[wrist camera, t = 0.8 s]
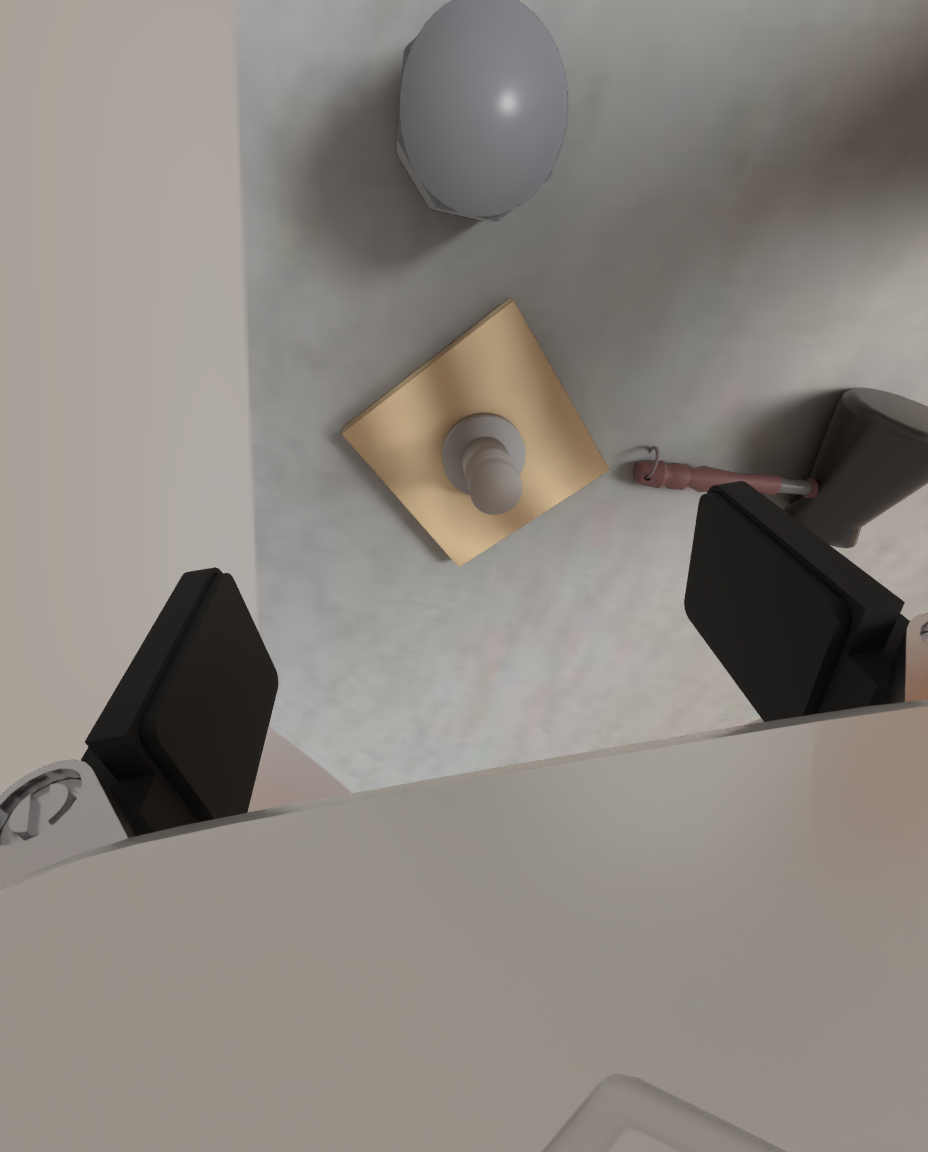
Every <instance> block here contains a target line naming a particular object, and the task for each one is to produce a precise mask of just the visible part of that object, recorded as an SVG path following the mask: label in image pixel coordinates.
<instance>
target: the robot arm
mask: <svg viewBox="0 0 928 1152" xmlns="http://www.w3.org/2000/svg"><path fill="white" fill-rule="evenodd" d="M904 603H905V602H904V601H902V600H901V599H900V598H898V597H897V596H896V595H894V594H893V593H892V592H891V591H889V590H888V589H887V588H885V587H884V586H883V585H881V584H880V583H879V582H877V581H876V580H875V579H873V578H872V577H871V576H869V575H868V574H867V573H865V572H864V571H863V570H861V569H860V568H859V567H858V566H856V565H855V564H854V563H852V562H851V561H850V560H848V559H847V558H846V557H844V556H843V555H842V554H840V553H839V552H838V551H836V550H835V549H834V548H832V547H831V546H830V545H828V544H827V543H826V542H824V541H823V540H822V539H821V538H819V537H818V536H817V535H815V534H814V533H813V532H811V531H810V530H809V529H807V528H806V527H805V526H803V525H802V524H801V523H799V522H798V521H797V520H795V519H794V518H793V517H791V516H790V515H789V514H788V513H786V512H785V511H784V510H782V509H781V508H780V507H778V506H777V505H776V504H774V503H773V502H772V501H770V500H769V499H768V498H766V497H765V496H764V495H762V494H761V493H760V492H758V491H757V490H756V489H754V488H753V487H752V486H751V485H749V484H748V483H746V482H744V481H737V482H731V483H725V484H719V485H713V486H712V487H710V488H709V490H708V492H707V494H704V495H702V496H701V498H700V500H699V505H698V512H697V519H696V526H695V532H694V539H693V546H692V553H691V559H690V566H689V573H688V580H687V586H686V593H685V600H684V605H685V611H686V614H687V616H688V618H689V620H690V621H691V622H692V624H693V625H694V626H695V628H696V629H697V631H698V632H699V633H700V635H701V636H702V637H703V639H704V640H705V641H706V643H707V644H708V646H709V647H710V648H711V650H712V651H713V652H714V654H715V655H716V656H717V658H718V659H719V661H720V662H721V663H722V665H723V666H724V667H725V669H726V670H727V672H728V673H729V674H730V676H731V677H732V678H733V680H734V681H735V682H736V684H737V685H738V687H739V688H740V689H741V691H742V692H743V693H744V695H745V696H746V697H747V699H748V700H749V702H750V703H751V704H752V706H753V707H754V708H755V710H756V711H757V713H758V714H759V715H760V717H761V718H762V719H763V721H764V722H762V723H756V724H750V725H744V726H738V727H732V728H726V729H720V730H714V731H708V732H702V733H697V734H691V735H685V736H679V737H673V738H667V739H661V740H655V741H649V742H643V743H637V744H631V745H625V746H619V747H614V748H608V749H602V750H596V751H590V752H585V753H579V754H573V755H567V756H562V757H556V758H550V759H544V760H538V761H533V762H527V763H521V764H515V765H510V766H504V767H498V768H493V769H487V770H481V771H475V772H470V773H464V774H458V775H453V776H447V777H441V778H435V779H430V780H424V781H419V782H413V783H408V784H402V785H396V786H391V787H385V788H380V789H374V790H369V791H363V792H357V793H352V794H346V795H341V796H335V797H330V798H324V799H318V800H313V801H308V802H302V803H296V804H290V805H285V806H280V807H275V808H270V809H265V810H260V811H255V812H249V813H247V812H248V807H249V803H250V799H251V795H252V791H253V787H254V783H255V779H256V775H257V771H258V767H259V762H260V758H261V754H262V750H263V746H264V742H265V738H266V734H267V730H268V726H269V722H270V718H271V714H272V710H273V706H274V701H275V697H276V693H277V689H278V676H277V672H276V669H275V667H274V665H273V662H272V660H271V658H270V656H269V654H268V652H267V650H266V647H265V645H264V643H263V641H262V639H261V637H260V634H259V632H258V630H257V628H256V626H255V624H254V622H253V619H252V618H251V615H250V613H249V611H248V609H247V607H246V605H245V602H244V600H243V598H242V596H241V594H240V591H239V589H238V587H237V585H236V583H235V581H234V579H233V577H232V576H231V575H230V574H229V573H224V574H223V573H222V572H221V571H220V570H219V569H218V568H216V567H215V568H209V569H203V570H198V571H191V572H187V573H184V574H183V576H182V577H181V579H180V580H179V582H178V584H177V586H176V587H175V589H174V591H173V592H172V594H171V596H170V598H169V599H168V601H167V603H166V604H165V606H164V608H163V610H162V611H161V613H160V615H159V616H158V618H157V620H156V621H155V623H154V625H153V626H152V628H151V630H150V632H149V633H148V635H147V637H146V638H145V640H144V642H143V643H142V645H141V647H140V649H139V650H138V652H137V654H136V655H135V657H134V659H133V661H132V662H131V664H130V666H129V667H128V669H127V671H126V673H125V674H124V676H123V678H122V679H121V681H120V683H119V685H118V686H117V688H116V689H115V691H114V693H113V695H112V696H111V698H110V700H109V701H108V703H107V705H106V706H105V708H104V710H103V712H102V713H101V715H100V717H99V719H98V720H97V722H96V724H95V725H94V727H93V729H92V731H91V732H90V734H89V735H88V737H87V739H86V741H85V743H86V744H87V745H88V749H87V751H86V752H85V754H84V756H83V757H82V759H81V761H79V760H75V759H74V760H64V761H58V762H55V763H52V764H49V765H46V766H43V767H41V768H39V769H37V770H35V771H33V772H31V773H29V774H27V775H25V776H24V777H23V778H21V779H20V780H18V781H17V782H16V783H14V784H13V785H12V786H10V787H9V788H7V790H5V791H4V792H3V793H2V794H1V795H0V1152H928V613H925V614H921V615H918V616H916V617H915V618H913V619H912V620H911V621H909V620H908V619H906V618H905V617H904V616H903V615H901V614H900V612H901V610H902V607H903V605H904Z"/></svg>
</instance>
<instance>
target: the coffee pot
mask: <svg viewBox="0 0 928 1152" xmlns="http://www.w3.org/2000/svg"><path fill="white" fill-rule="evenodd" d="M654 449H655V451H656V459H655V461H640V462H638V463H637V464H636V466H635V469H634V479H635V481H636V482H637V483H641V484H644V485H648V486H652V487H656V488H659V487H661V486H664V485H665V486H666V487H667V488H670V489H680V490H683V489H684V488H685V487H686V486H688V487H690V488H692V489H694V490H696V491H698V492H705V491H708V490H709V488H710V487H712V486H713V485H719V484H725V483H731V482H737V481H744V482H746V483H748V484H749V485H751V486H752V487H753V488H754V489H756V490H757V491H758V492H760V493H764V494H770V495H775V494H777V493H787V494H798V495H802V497H800V498H799V499H797V500H796V501H794V502H792V503H791V504H789V505H788V506H786V507H785V512H786V513H788V514H789V515H790V516H791V517H793V518H794V519H795V520H797V521H798V522H799V523H801V524H802V525H803V526H805V527H806V528H807V529H809V530H810V531H811V532H813V533H814V534H815V535H817V536H818V537H819V538H821V539H822V540H823V541H824V542H826V543H827V544H828V545H831V546H835V547H840V548H850V547H854V545H855V544H856V543H857V540H858V537H859V533H860V530H861V527H862V526H864V525H865V524H867V523H868V522H870V521H871V520H873V519H874V518H876V517H877V516H879V515H880V514H882V513H883V512H885V511H886V510H888V509H889V508H891V507H892V506H894V505H895V504H897V503H899V502H900V501H902V500H903V499H905V498H906V497H908V496H909V495H911V494H912V493H914V492H915V491H917V490H918V489H920V488H921V487H923V486H924V485H926V484H927V483H928V407H927V406H925V405H922V404H920V403H918V402H915V401H913V400H910V399H907V398H904V397H902V396H899V395H895V394H892V393H888V392H885V391H880V390H875V389H869V388H854V389H852V390H849V391H847V392H845V393H843V395H842V396H841V397H840V399H839V402H838V404H837V407H836V409H835V412H834V415H833V417H832V420H831V423H830V425H829V428H828V430H827V433H826V436H825V438H824V441H823V444H822V446H821V449H820V452H819V454H818V457H817V459H816V462H815V465H814V467H813V470H812V473H811V475H810V478H809V479H806V480H794V479H784V478H781V477H780V476H779V475H749V474H737V473H733V472H729V471H724V470H720V469H715V468H711V467H707V466H701V467H697V468H693V469H690V468H689V466H688V465H687V464H677V463H671V464H669V465H667V464H666V463H665V462H664V461H658V460H659V450H658V448H657V447H655V446H653V447H651V448H650V449H649V454H650V453H651V451H652V450H654Z"/></svg>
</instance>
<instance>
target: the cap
mask: <svg viewBox="0 0 928 1152" xmlns="http://www.w3.org/2000/svg"><path fill="white" fill-rule="evenodd" d="M567 111H568V91H567V84H566V77H565V72H564V68H563V64H562V60H561V58H560V55H559V52H558V49H557V47H556V45H555V43H554V41H553V38H552V36H551V35H550V33H549V32H548V30H547V29H546V27H545V25H544V24H543V23H542V22H541V20H540V19H539V18H538V17H537V16H536V15H535V14H534V12H532V11H531V10H530V9H529V8H528V7H526V6H525V5H524V4H522V3H520V2H519V1H517V0H452V1H450V2H449V3H447V4H445V5H444V6H443V7H441V8H440V9H439V10H438V11H437V12H436V13H434V15H433V16H432V17H431V18H430V19H429V20H428V21H427V22H426V24H425V25H424V27H423V28H422V30H421V31H420V33H419V34H418V36H417V37H416V38H415V39H414V40H413V41H412V42H411V43H409V44H408V45H407V46H406V47H405V50H404V57H403V69H402V81H401V91H400V105H399V117H398V129H397V142H396V154H397V155H398V157H399V159H400V160H401V162H402V164H403V165H404V167H405V169H406V170H407V172H408V174H409V175H410V177H411V179H412V180H413V182H414V184H415V185H416V187H417V189H418V190H419V192H420V194H421V195H422V197H423V199H424V200H425V202H426V204H427V205H428V207H429V209H431V210H436V211H440V212H445V213H449V214H454V215H459V216H463V217H468V218H472V219H477V220H482V221H499V220H500V219H501V218H502V217H504V216H505V215H506V214H507V213H508V212H510V211H511V210H512V209H514V208H516V207H518V206H519V205H521V204H522V203H523V202H525V201H526V200H528V199H529V198H530V197H531V196H532V195H533V194H534V193H535V192H536V191H537V190H538V188H539V187H540V186H541V185H542V184H544V183H545V182H546V181H547V180H548V179H550V177H551V173H552V168H553V166H554V164H555V162H556V159H557V157H558V154H559V152H560V149H561V146H562V142H563V138H564V134H565V129H566V123H567Z"/></svg>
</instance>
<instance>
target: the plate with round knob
mask: <svg viewBox="0 0 928 1152" xmlns="http://www.w3.org/2000/svg"><path fill="white" fill-rule="evenodd" d="M342 435H343V436H344V437H345V439H346V440H347V441H348V442H349V443H350V444H351V445H352V446H353V448H354V449H355V450H356V451H357V452H358V453H359V454H360V456H361V457H362V458H363V459H364V460H365V461H366V462H367V464H368V465H369V466H370V467H371V468H372V469H373V470H374V471H375V473H376V474H377V475H378V476H379V477H380V478H381V479H382V481H383V482H384V483H385V484H386V485H387V486H388V487H389V489H390V490H391V491H392V492H393V493H394V494H395V495H396V497H397V498H398V499H399V500H400V501H401V502H402V503H403V504H404V506H405V507H406V508H407V509H408V510H409V511H410V512H411V514H412V515H413V516H414V517H415V518H416V519H417V520H418V522H419V523H420V524H421V525H422V526H423V527H424V528H425V529H426V531H427V532H428V533H429V534H430V535H431V536H432V537H433V539H434V540H435V541H436V542H437V543H438V544H439V545H440V547H441V548H442V549H443V550H444V551H445V552H446V553H447V554H448V556H449V557H450V558H451V559H452V560H453V561H454V562H455V564H456V565H457V566H458V567H460V566H462V565H463V564H465V563H466V562H468V561H470V560H471V559H473V558H474V557H476V556H477V555H479V554H480V553H482V552H483V551H485V550H487V549H488V548H490V547H491V546H493V545H494V544H496V543H497V542H499V541H501V540H502V539H504V538H505V537H507V536H508V535H510V534H511V533H513V532H514V531H516V530H518V529H519V528H521V527H522V526H524V525H525V524H527V523H528V522H530V521H532V520H533V519H535V518H536V517H538V516H539V515H541V514H542V513H544V512H546V511H547V510H549V509H550V508H552V507H553V506H555V505H556V504H558V503H559V502H561V501H563V500H564V499H566V498H567V497H569V496H570V495H572V494H573V493H575V492H577V491H578V490H580V489H581V488H583V487H584V486H586V485H587V484H589V483H590V482H592V481H594V480H595V479H597V478H598V477H600V476H601V475H603V474H604V473H606V472H608V471H609V470H610V469H609V468H608V466H607V464H606V462H605V461H604V459H603V457H602V455H601V454H600V452H599V450H598V448H597V446H596V445H595V443H594V441H593V439H592V438H591V436H590V434H589V432H588V431H587V429H586V427H585V425H584V424H583V422H582V420H581V418H580V417H579V415H578V413H577V411H576V410H575V408H574V406H573V404H572V402H571V401H570V399H569V397H568V395H567V394H566V392H565V390H564V388H563V387H562V385H561V383H560V381H559V380H558V378H557V376H556V374H555V373H554V371H553V369H552V367H551V366H550V364H549V362H548V360H547V358H546V357H545V355H544V353H543V351H542V350H541V348H540V346H539V344H538V343H537V341H536V339H535V337H534V336H533V334H532V332H531V330H530V329H529V327H528V325H527V323H526V322H525V320H524V318H523V316H522V314H521V313H520V311H519V309H518V307H517V306H516V304H515V302H514V301H513V300H512V299H511V298H509V299H507V300H506V301H505V302H504V303H502V304H501V305H500V306H499V307H497V308H496V309H495V310H493V311H492V312H491V313H490V314H488V315H487V316H486V317H484V318H483V319H482V320H481V321H479V322H478V323H477V324H475V325H474V326H473V327H472V328H470V329H469V330H468V331H466V332H465V333H464V334H463V335H461V336H460V337H459V338H457V339H456V340H455V341H454V342H452V343H451V344H450V345H448V346H447V347H446V348H445V349H443V350H442V351H441V352H439V353H438V354H437V355H436V356H434V357H433V358H432V359H430V360H429V361H428V362H427V363H425V364H424V365H423V366H421V367H420V368H419V369H418V370H416V371H415V372H414V373H412V374H411V375H410V376H409V377H407V378H406V379H405V380H403V381H402V382H401V383H400V384H398V385H397V386H396V387H395V388H393V389H392V390H391V391H389V392H388V393H387V394H386V395H384V396H383V397H382V398H380V399H379V400H378V401H377V402H375V403H374V404H373V405H371V406H370V407H369V408H368V409H366V410H365V411H364V412H362V413H361V414H360V415H359V416H357V417H356V418H355V419H353V420H352V421H351V422H350V423H348V424H347V425H346V426H344V427H343V431H342Z"/></svg>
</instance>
